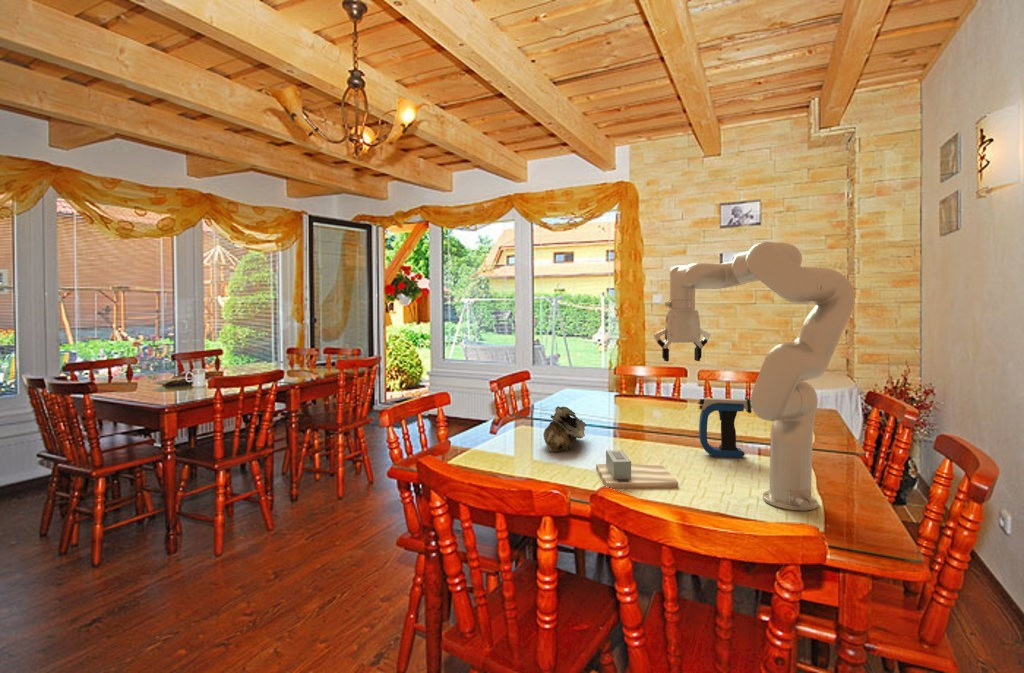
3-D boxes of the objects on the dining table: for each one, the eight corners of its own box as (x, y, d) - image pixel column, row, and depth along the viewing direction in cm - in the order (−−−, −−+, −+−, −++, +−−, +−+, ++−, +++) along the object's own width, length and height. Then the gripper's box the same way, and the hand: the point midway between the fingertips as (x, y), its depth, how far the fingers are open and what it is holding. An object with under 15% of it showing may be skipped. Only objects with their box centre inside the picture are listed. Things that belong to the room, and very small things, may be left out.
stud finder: (631, 478, 155) (631, 461, 154) (613, 479, 155) (613, 461, 154) (622, 466, 167) (622, 449, 166) (606, 466, 167) (606, 449, 166)
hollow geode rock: (570, 447, 214) (545, 418, 217) (594, 426, 210) (568, 397, 213) (553, 465, 187) (524, 431, 190) (579, 441, 184) (549, 408, 187)
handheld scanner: (751, 459, 179) (752, 399, 178) (700, 456, 182) (700, 398, 181) (748, 455, 183) (749, 397, 182) (698, 453, 186) (698, 396, 186)
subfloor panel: (678, 487, 152) (678, 481, 152) (606, 488, 152) (606, 482, 152) (660, 468, 170) (660, 463, 170) (596, 468, 170) (596, 463, 170)
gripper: (657, 306, 165) (657, 362, 166) (714, 305, 165) (713, 361, 166) (651, 306, 173) (650, 359, 174) (705, 305, 173) (705, 359, 174)
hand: (681, 360), depth 170 cm, fingers open, 9 cm apart
